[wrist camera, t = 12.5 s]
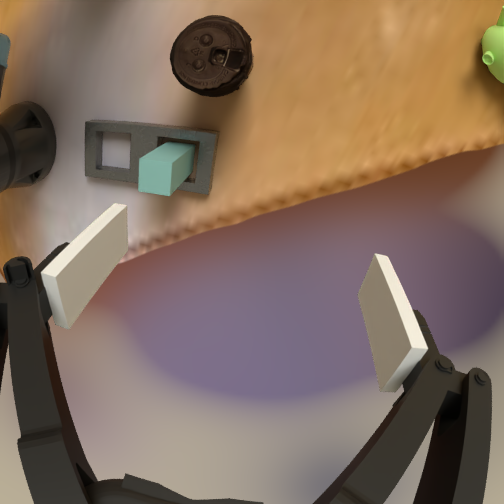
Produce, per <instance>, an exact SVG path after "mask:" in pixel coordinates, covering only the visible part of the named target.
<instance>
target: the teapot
mask: <svg viewBox="0 0 504 504" xmlns="http://www.w3.org/2000/svg"><path fill="white" fill-rule="evenodd" d="M481 44H482V50H483V57H482V60H483V62H484V63H485V64H486V65H487V66H488V69H489V71H490V73H492V74H493V75H494V76H495V78H496V79H498V80H499V81H500V82H502V83H503V84H504V6H503V8H502V11H501V14H500V16H499V19H498V22H497V25H493V26H491V27H489V28H488V29H487V30H486V32H485V33H484V36H483V38H482V39H481Z"/></svg>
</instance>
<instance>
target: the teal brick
mask: <svg viewBox="0 0 504 504" xmlns="http://www.w3.org/2000/svg"><path fill="white" fill-rule="evenodd" d="M194 154H195V144H187V143H179V142H171V141H168V142H166V143H165V144H163V145H161V146H159V147H158V148H156V149H154V150H153V151H151V152H149V153H148V154H146V155H145V156H143V157H141V158H140V159H139V186H138V191H140V192H146V193H153V194H159V195H166V196H171V194H172V193H173V192H174V191H175V190H176V189H177V188H178V187H179V186H180V185H181V183H182V182H183V181H184V180H185V179H186V178H187V177H188V176H189V175H190V174H191V173H192V172H193V163H194Z"/></svg>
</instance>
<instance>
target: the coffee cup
mask: <svg viewBox="0 0 504 504" xmlns="http://www.w3.org/2000/svg"><path fill="white" fill-rule="evenodd" d="M250 42H251V38H250V36H249V35H248V33H247V32H246V31H245V30H244V29H243V27H242V26H241V25H240V24H239V23H238V22H236V21H234V20H232V19H230V18H228V17H225V16H218V15H211V16H206V17H204V18H201V19H198V20H196V21H194V22H193V23H191V24H190V25H188V26H187V27H186V28H185V29H184V30H183V31H182V32H181V33H180V34H179V36H178V37H177V39H176V40H175V42H174V43H173V46H172V50H171V53H170V62H171V65H172V71H173V74H174V75H175V77H176V78H177V80H178V81H179V82H180V84H182V85H183V86H184V87H186V88H187V89H189V90H191V91H193V92H196V93H198V94H199V95H202V96H209V97H220V96H224V95H228V94H230V93H232V92H234V91H235V90H238V89H239V86H240V85H242V83H243V82H244V80H245V79H247V78H248V75H249V73H250V71H251V69H252V67H253V57H254V56H253V53H252V50H251V43H250Z"/></svg>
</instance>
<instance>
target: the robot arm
mask: <svg viewBox="0 0 504 504" xmlns="http://www.w3.org/2000/svg"><path fill="white" fill-rule="evenodd" d="M9 50H10V39H9V37H8V36H7V35H5V34H2V33H0V97H1V91H2V85H3V80H4V75H5V70H6V69H7V67H8V65H7V59H8V54H9ZM55 153H56V137H55V131H54V128H53V125H52V122H51V120H50V118H49V116H48V114H47V113H46V112H45V110H44V109H43V108H42V107H40V106H39V105H37V104H35V103H33V102H22V103H19V104H15V105H13V106H11V107H9V108H8V109H6V110H5V111H4V112H3V113H1V114H0V192H2V191H4V190H5V189H7V188H16V187H26V186H30V185H33V184H35V183H36V182H38V181H40V180H42V179H43V178H44V177H45V176H46V175H47V174H48V173H49V171H50V169H51V167H52V165H53V162H54V159H55ZM127 251H128V233H127V205H122V204H116V203H114V204H113V205H112V206H111V207H110V208H108V209H107V210H106V211H105V212H104V213H103V214H102V215H100V216H99V217H98V218H97V219H96V220H95V221H94V222H93V223H91V224H90V225H89V226H88V227H87V228H86V229H85V230H84V231H83V232H82V233H81V234H79V235H78V236H77V237H76V238H75V239H74V240H73V241H72V242H71V243H67V242H66V243H64V244H62V245H60V246H58V247H57V248H56V249H54V250H53V251H52V252H51V254H49V255H48V256H47V257H46V259H44V260H43V261H42V262H41V263H40V264H39V265H38V266H37V267H36V268H35V269H34V270H33V267H32V263H31V260H30V259H29V258H27V257H23V256H21V257H15V258H12V259H11V260H9V261H7V262H6V264H5V265H4V267H3V271H4V275H5V278H6V281H7V283H0V390H1V382H2V376H3V370H4V364H5V358H6V353H7V348H8V343H9V356H10V367H11V377H12V385H13V392H14V399H15V405H16V410H17V416H18V422H19V426H20V431H21V438H19V439H18V443H17V444H18V451H19V455H20V458H21V462H22V466H23V470H24V473H25V476H26V480H27V483H28V486H29V490H30V493H31V496H32V499H33V501H34V504H263V503H262V502H252V501H244V500H236V499H230V498H229V499H210V500H192V499H189V498H186V497H184V496H182V495H180V494H178V493H176V492H174V491H172V490H170V489H168V488H166V487H164V486H162V485H160V484H158V483H155V482H151V481H148V480H145V479H141V478H138V477H135V476H132V475H128V474H125V477H124V479H108V480H102V481H97V478H96V477H95V474H94V473H93V471H92V469H91V467H90V465H89V463H88V461H87V459H86V457H85V454H84V451H83V449H82V446H81V443H80V441H79V438H78V435H77V432H76V429H75V426H74V423H73V420H72V417H71V414H70V411H69V407H68V404H67V400H66V397H65V393H64V390H63V386H62V382H61V378H60V375H59V370H58V366H57V362H56V357H55V352H54V347H53V343H52V337H51V332H50V326H49V323H48V320H49V318H50V317H51V316H52V315H53V319H54V322H55V325H58V326H60V327H63V328H66V329H70V328H71V326H72V325H73V323H74V322H75V320H76V319H77V318H78V316H79V315H80V313H81V312H82V311H83V309H84V308H85V306H86V305H87V304H88V302H89V301H90V299H91V298H92V297H93V295H94V294H95V293H96V291H97V290H98V288H99V287H100V286H101V285H102V283H103V282H104V280H105V279H106V278H107V277H108V275H109V274H110V272H111V271H112V270H113V269H114V267H115V266H116V265H117V264H118V262H119V261H120V260H121V258H122V257H123V256H124V255H125V253H126V252H127ZM358 299H359V303H360V306H361V310H362V314H363V318H364V322H365V326H366V330H367V334H368V338H369V342H370V347H371V351H372V355H373V360H374V364H375V369H376V374H377V378H378V383H379V388H380V392H396V391H397V390H398V389H399V387H400V386H401V385H402V384H403V388H404V392H403V393H402V395H401V396H400V397H399V398H398V399H397V401H396V402H395V403H394V404H393V408H392V409H391V411H390V412H389V413H388V415H387V416H386V418H385V419H384V420H383V422H382V423H381V424H380V426H379V427H378V429H377V430H376V431H375V433H374V434H373V435H372V437H371V438H370V439H369V440H368V442H367V443H366V444H365V445H364V447H363V448H362V449H361V450H360V452H359V453H358V454H357V455H356V457H355V458H354V459H353V460H352V461H351V463H350V464H349V465H348V466H347V467H346V469H345V470H344V471H343V472H342V473H341V474H340V475H339V476H338V478H337V479H336V480H335V481H334V482H333V483H332V484H331V485H330V486H329V487H328V488H327V489H326V491H325V492H324V493H323V494H322V495H321V496H320V497H319V498H318V499H317V500H316V501H315V502H314V503H313V504H383V503H384V502H385V501H386V499H387V498H388V496H389V495H390V493H391V492H392V490H393V489H394V488H395V486H396V485H397V483H398V482H399V480H400V479H401V477H402V475H403V474H404V472H405V471H406V469H407V467H408V466H409V464H410V463H411V461H412V459H413V458H414V456H415V454H416V452H417V451H418V449H419V447H420V445H421V443H422V442H423V440H424V438H425V436H426V434H427V432H428V431H429V429H430V427H431V425H432V423H433V421H434V419H435V422H434V427H433V431H432V436H431V441H430V445H429V449H428V454H427V457H426V461H425V465H424V469H423V472H422V476H421V479H420V483H419V486H418V489H417V493H416V496H415V499H414V502H413V504H482V503H483V498H484V492H485V486H486V479H487V471H488V462H489V453H490V440H491V420H492V418H491V417H492V390H491V389H492V388H491V387H492V386H491V379H490V378H489V376H488V374H487V373H486V372H485V371H483V370H482V369H480V368H472V369H471V370H470V371H469V372H468V374H464V373H461V372H458V371H456V370H455V368H454V365H453V363H452V362H451V361H450V360H449V359H448V358H447V357H445V356H443V355H440V354H439V351H438V349H437V346H436V344H435V342H434V339H433V337H432V334H430V333H431V332H430V330H429V328H428V325H427V323H426V321H425V318H424V317H423V316H422V315H421V314H420V312H419V311H418V310H412V308H411V306H410V304H409V301H408V299H407V297H406V295H405V292H404V290H403V288H402V286H401V284H400V281H399V279H398V277H397V275H396V273H395V271H394V269H393V267H392V264H391V262H390V260H389V258H388V257H387V256H384V255H379V254H374V257H373V260H372V262H371V264H370V267H369V269H368V272H367V274H366V276H365V279H364V281H363V283H362V286H361V288H360V290H359V292H358Z"/></svg>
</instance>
